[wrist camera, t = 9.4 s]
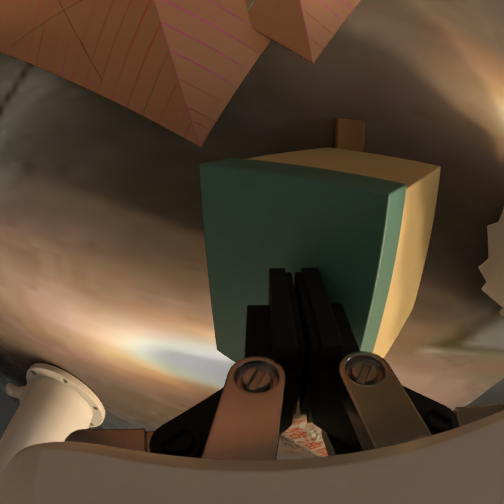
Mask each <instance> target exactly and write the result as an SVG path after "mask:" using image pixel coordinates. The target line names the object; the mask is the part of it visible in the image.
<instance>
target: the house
mask: <svg viewBox="0 0 504 504" xmlns="http://www.w3.org/2000/svg"><path fill="white" fill-rule="evenodd" d="M360 1H361V0H0V52H1V53H4V54H7V55H9V56H12V57H15V58H17V59H20V60H22V61H25V62H27V63H30V64H32V65H35V66H37V67H39V68H42V69H44V70H47V71H49V72H51V73H54V74H56V75H58V76H60V77H63V78H65V79H67V80H69V81H72V82H74V83H76V84H78V85H80V86H83V87H85V88H87V89H89V90H91V91H93V92H96V93H98V94H100V95H102V96H104V97H106V98H108V99H110V100H112V101H114V102H116V103H118V104H120V105H122V106H124V107H126V108H128V109H130V110H132V111H134V112H136V113H138V114H140V115H142V116H144V117H146V118H148V119H150V120H152V121H154V122H156V123H157V124H159V125H161V126H163V127H165V128H167V129H169V130H171V131H172V132H174V133H176V134H178V135H180V136H182V137H183V138H185V139H187V140H189V141H191V142H192V143H194V144H196V145H198V146H200V147H201V146H202V145H203V143H204V141H205V139H206V138H207V136H208V134H209V133H210V131H211V130H212V128H213V126H214V125H215V123H216V121H217V120H218V118H219V117H220V115H221V113H222V112H223V110H224V109H225V107H226V106H227V104H228V102H229V101H230V99H231V98H232V96H233V95H234V93H235V92H236V90H237V89H238V87H239V86H240V84H241V83H242V81H243V80H244V78H245V77H246V75H247V74H248V72H249V71H250V69H251V68H252V67H253V65H254V64H255V62H256V61H257V60H258V58H259V57H260V55H261V54H262V53H263V51H264V50H265V48H266V47H267V46H268V44H269V43H270V42H271V40H274V41H276V42H277V43H279V44H281V45H283V46H284V47H286V48H288V49H289V50H291V51H293V52H294V53H296V54H298V55H299V56H301V57H302V58H304V59H306V60H307V61H309V62H310V63H312V64H314V62H315V60H316V59H317V58H318V56H319V55H320V54H321V52H322V51H323V49H324V48H325V47H326V45H327V44H328V43H329V41H330V40H331V39H332V37H333V36H334V35H335V33H336V32H337V31H338V29H339V28H340V27H341V25H342V24H343V23H344V21H345V20H346V19H347V17H348V16H349V15H350V14H351V12H352V11H353V10H354V8H355V7H356V6H357V5H358V3H359V2H360Z"/></svg>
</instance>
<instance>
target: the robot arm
mask: <svg viewBox="0 0 504 504" xmlns="http://www.w3.org/2000/svg"><path fill="white" fill-rule="evenodd" d="M26 380H27V385H26V386H21V387H19V386H17V385H14V384H11V383H8V384H7V385H6V392H7V394H8V395H10V396H13V397H15V398H19V399H20V406H19V407H18V409H17V411H16V413H15V414H14V416H13V418H12V420H11V422H10V423H9V425H8V427H7V429H6V431H5V433H4V435H3V436H2V438H1V441H0V504H504V404H500V403H499V404H490V405H481V406H470V407H456V408H455V409H454V411H452V410H451V409H449V408H448V407H446V406H445V405H442V404H440V403H438V402H436V401H434V400H432V399H429V398H427V397H425V396H423V395H421V394H419V393H417V392H415V391H412V390H410V389H408V388H406V387H404V386H402V385H401V383H400V381H399V380H398V378H397V377H396V375H395V373H394V372H393V370H392V369H391V367H390V366H389V364H388V363H387V362H386V361H385V359H384V358H382V357H380V356H379V355H377V354H374V353H371V352H366V351H360V350H359V347H358V344H357V342H356V339H355V336H354V334H353V331H352V328H351V326H350V323H349V321H348V318H347V316H346V313H345V311H344V308H343V306H342V304H341V303H331V304H330V301H329V298H328V295H327V293H326V290H325V287H324V284H323V281H322V279H321V276H320V273H319V270H318V268H301V272H295V281H294V284H293V279H292V274H291V272H286V271H285V268H269V300H268V305H247V318H246V339H245V358H243V359H241V360H239V361H237V362H236V363H235V364H234V365H233V366H232V367H231V368H230V370H229V372H228V375H227V378H226V382H225V385H224V388H222V389H220V390H219V391H217V392H216V393H214V394H213V395H211V396H210V397H208V398H206V399H205V400H203V401H202V402H200V403H199V404H197V405H195V406H194V407H192V408H190V409H189V410H187V411H185V412H184V413H182V414H181V415H179V416H177V417H175V418H174V419H172V420H170V421H169V422H167V423H165V424H164V425H162V426H161V427H159V428H158V429H157V430H155V431H149V432H146V430H145V429H144V428H143V429H88V427H97V426H99V425H101V424H102V422H103V420H104V418H105V410H104V407H103V405H102V403H101V401H100V400H99V399H98V397H97V396H96V395H95V394H94V393H93V392H92V391H91V390H90V389H89V388H88V387H87V386H86V385H85V384H84V383H82V382H81V381H80V380H78V379H77V378H75V377H74V376H72V375H71V374H69V373H67V372H66V371H64V370H62V369H60V368H57V367H55V366H52V365H49V364H44V363H35V364H33V365H31V367H30V368H29V369H28V371H27V373H26ZM298 399H299V408H300V414H306V416H307V423H313V424H314V425H316V426H317V427H319V428H320V429H322V430H321V434H322V438H323V441H324V444H325V447H326V450H327V453H328V456H324V457H314V458H302V459H285V460H276V458H277V451H278V444H279V436H280V435H281V434H282V433H283V432H285V431H286V430H287V429H288V428H289V427H290V426H291V425H292V421H293V414H296V410H297V404H298Z"/></svg>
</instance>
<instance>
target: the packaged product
mask: <svg viewBox="0 0 504 504" xmlns="http://www.w3.org/2000/svg"><path fill="white" fill-rule="evenodd" d="M321 430H322V429H320V428H319V427H317V426H316V425H314V424H313V423H307V416H306V414H300V408H299V401H298V404H297V410H296V414H293V421H292V425H291V426H290V427H289V428H288V429H287V430H286V431H285V432H283V433H282V434H281V435H282V436H283V437H285V438H286V439H288V440H290V441H291V442H293V443H295V444H296V445H298V446H300V447H301V448H303V449H305V450H306V451H308V452H310V453H311V454H313V455H315V456H316V457H324V456H328V453H327V450H326V447H325V444H324V441H323V438H322V434H321Z"/></svg>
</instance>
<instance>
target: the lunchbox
mask: <svg viewBox="0 0 504 504" xmlns="http://www.w3.org/2000/svg"><path fill="white" fill-rule="evenodd" d="M199 169H200V184H201V198H202V211H203V223H204V235H205V246H206V257H207V267H208V277H209V286H210V295H211V304H212V313H213V321H214V330H215V338H216V345H217V350H218V351H219V352H221V353H222V354H224V355H225V356H227V357H228V358H230V359H231V360H233V361H234V362H237V361H239V360H241V359H243V358H245V339H246V318H247V305H268V300H269V268H285V271H286V272H291V274H292V279H293V284H294V281H295V272H301V268H318V270H319V273H320V276H321V279H322V281H323V284H324V287H325V290H326V293H327V295H328V298H329V301H330V304H331V303H341V304H342V306H343V308H344V311H345V313H346V316H347V318H348V321H349V323H350V326H351V328H352V331H353V334H354V336H355V339H356V342H357V344H358V347H359V350H360V351H366V352H371V353H374V354H377V355H379V356H380V357H382V358H384V357H385V355H386V353H387V352H388V350H389V349H390V347H391V345H392V344H393V342H394V340H395V339H396V337H397V335H398V334H399V332H400V330H401V329H402V327H403V325H404V323H405V322H406V320H407V318H408V316H409V315H410V313H411V311H412V309H413V306H414V302H415V299H416V295H417V292H418V288H419V284H420V280H421V276H422V272H423V268H424V264H425V260H426V255H427V251H428V246H429V241H430V236H431V231H432V226H433V220H434V214H435V208H436V201H437V194H438V187H439V178H440V169H441V167H440V166H437V165H432V164H427V163H423V162H418V161H413V160H408V159H402V158H397V157H391V156H385V155H379V154H373V153H366V152H359V151H352V150H344V149H336V148H328V147H327V148H318V149H309V150H301V151H293V152H286V153H278V154H272V155H265V156H258V157H252V158H246V159H241V158H228V159H222V160H216V161H211V162H206V163H201V164H199ZM298 401H299V399H298Z"/></svg>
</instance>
